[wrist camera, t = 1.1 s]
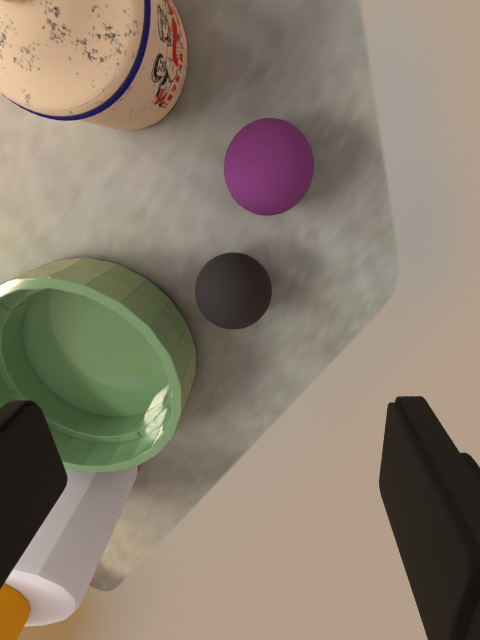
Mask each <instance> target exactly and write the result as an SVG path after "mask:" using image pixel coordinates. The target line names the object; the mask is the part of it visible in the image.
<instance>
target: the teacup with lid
mask: <svg viewBox="0 0 480 640" xmlns="http://www.w3.org/2000/svg"><path fill="white" fill-rule="evenodd" d="M187 62H188V52H187V42H186V36H185V32H184V28H183V25H182V22H181V19H180V16H179V14H178V11H177V9H176V7H175V6H174V4H173V2H172V0H0V93H1V94H3V95H4V96H5V97H6V98H8V99H9V100H10V101H12V102H13V103H15V104H16V105H18V106H20V107H21V108H23V109H25V110H27V111H29V112H31V113H34V114H36V115H39V116H42V117H45V118H49V119H55V120H65V121H70V120H81V121H86V122H90V123H94V124H98V125H102V126H107V127H111V128H115V129H120V130H138V129H143V128H146V127H149V126H151V125H153V124H155V123H156V122H158V121H159V120H161V119H162V118H163V117H164V116H165V115H166V114H168V112H169V111H170V110H171V109H172V107H173V106H174V105H175V103H176V101H177V100H178V98H179V96H180V93H181V91H182V88H183V85H184V82H185V78H186V72H187Z"/></svg>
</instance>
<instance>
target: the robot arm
mask: <svg viewBox="0 0 480 640" xmlns="http://www.w3.org/2000/svg"><path fill="white" fill-rule="evenodd" d="M67 480H68V476H67V473H66V470H65V468H64V465H63V462H62V460H61V457H60V455H59V452H58V449H57V447H56V444H55V442H54V439H53V436H52V434H51V431H50V429H49V426H48V423H47V421H46V418H45V416H44V413H43V410H42V409H41V407H40V406H38V405H37V404H36V403H35V402H34V401H31V400H14V401H9V402H7V403H6V404H5V405H4V406H2V407H1V408H0V589H1V587H2V586H3V584H4V583H5V581H6V580H7V578H8V577H9V575H10V574H11V572H12V570H13V569H14V567H15V566H16V564H17V563H18V561H19V560H20V558H21V556H22V555H23V553H24V552H25V550H26V549H27V547H28V546H29V544H30V542H31V541H32V539H33V538H34V536H35V535H36V533H37V532H38V530H39V528H40V527H41V525H42V524H43V522H44V521H45V519H46V518H47V516H48V514H49V513H50V511H51V510H52V508H53V507H54V505H55V504H56V502H57V500H58V499H59V497H60V496H61V494H62V493H63V491H64V489H65V488H66V485H67ZM379 487H380V493H381V497H382V500H383V503H384V506H385V509H386V512H387V515H388V518H389V521H390V524H391V527H392V530H393V533H394V537H395V540H396V543H397V546H398V549H399V552H400V555H401V558H402V561H403V564H404V567H405V570H406V573H407V576H408V579H409V582H410V586H411V589H412V592H413V595H414V598H415V601H416V604H417V607H418V610H419V613H420V616H421V619H422V622H423V626H424V628H425V632H426V635H427V638H428V640H480V467H479V466H478V465H477V463H476V462H475V460H474V459H473V458H472V457H471V456H470V455H468V454H467V453H460V452H459V451H458V449H457V448H456V447H455V445H454V443H453V442H452V440H451V439H450V437H449V435H448V434H447V432H446V431H445V429H444V428H443V426H442V425H441V423H440V422H439V420H438V418H437V417H436V416H435V414H434V412H433V411H432V409H431V408H430V407H429V405H428V403H427V401H426V400H425V399H424V398H423V397H421V396H409V397H408V396H404V397H397V398H396V400H395V403H389V404H388V408H387V417H386V425H385V434H384V442H383V451H382V460H381V468H380V477H379Z"/></svg>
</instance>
